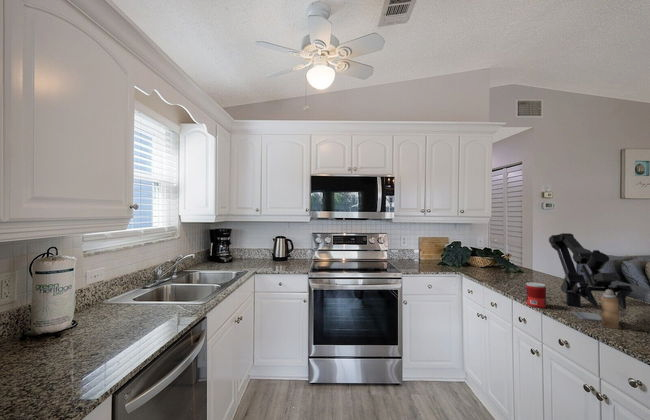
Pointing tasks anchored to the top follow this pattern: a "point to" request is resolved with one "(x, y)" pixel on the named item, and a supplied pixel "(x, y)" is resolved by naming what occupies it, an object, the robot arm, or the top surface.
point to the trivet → (588, 316)
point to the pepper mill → (609, 310)
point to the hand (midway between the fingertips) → (610, 307)
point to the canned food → (536, 295)
